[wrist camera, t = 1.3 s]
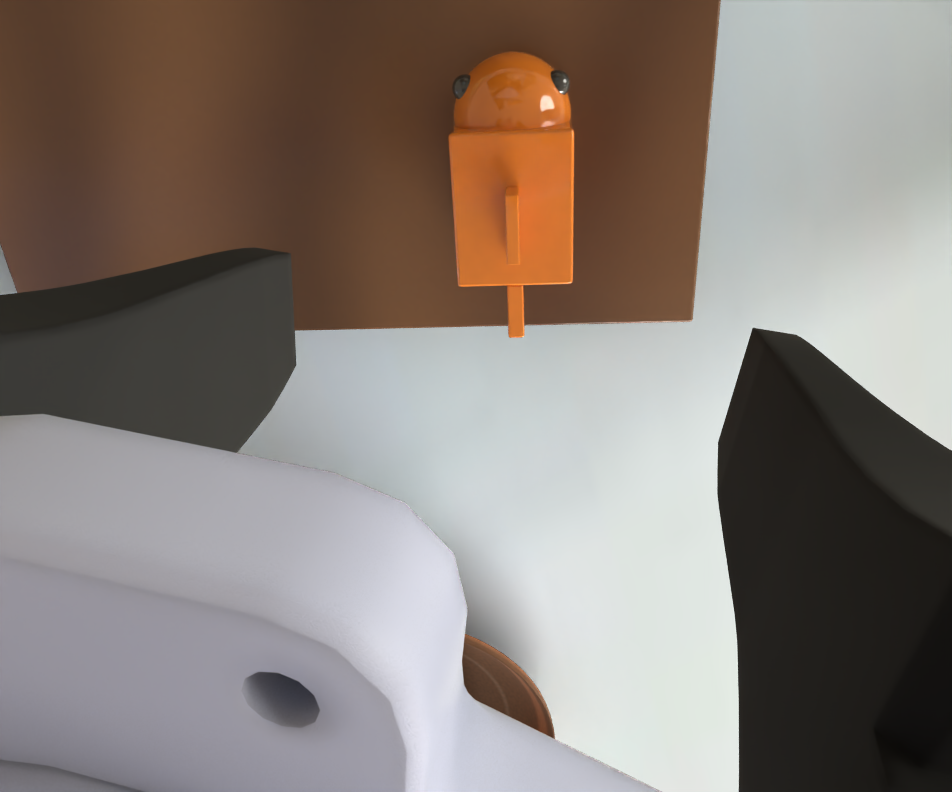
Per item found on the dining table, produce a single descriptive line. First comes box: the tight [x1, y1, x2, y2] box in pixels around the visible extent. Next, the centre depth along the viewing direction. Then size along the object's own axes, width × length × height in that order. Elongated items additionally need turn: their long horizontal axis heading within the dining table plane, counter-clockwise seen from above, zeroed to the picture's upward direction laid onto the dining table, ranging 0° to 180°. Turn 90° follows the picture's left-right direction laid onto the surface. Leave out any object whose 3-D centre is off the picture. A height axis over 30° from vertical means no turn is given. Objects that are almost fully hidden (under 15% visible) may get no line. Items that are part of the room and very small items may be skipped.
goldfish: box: [448, 51, 574, 338], centre depth 19 cm, size 6×3×4 cm, turn 3°
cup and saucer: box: [462, 634, 555, 739], centre depth 29 cm, size 12×12×6 cm
